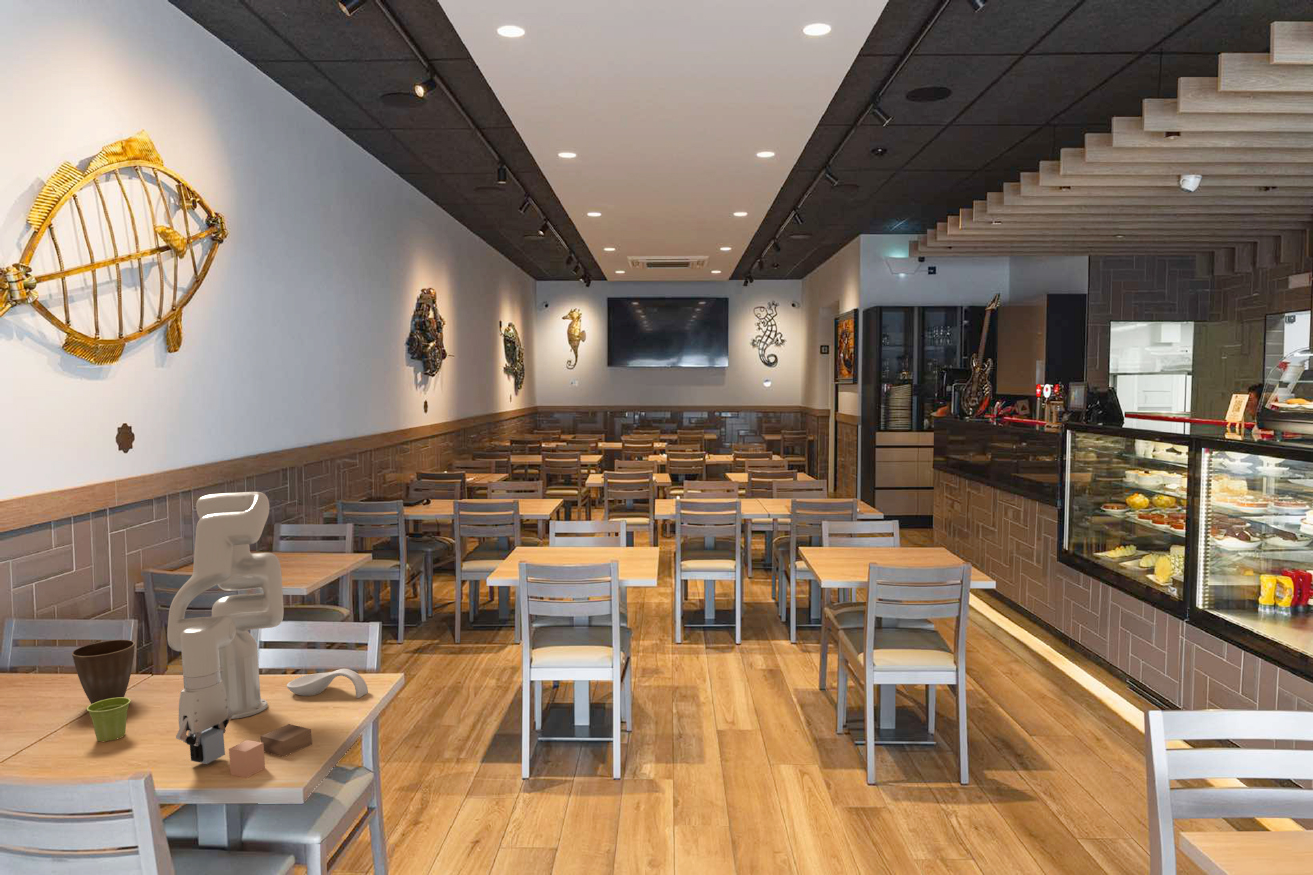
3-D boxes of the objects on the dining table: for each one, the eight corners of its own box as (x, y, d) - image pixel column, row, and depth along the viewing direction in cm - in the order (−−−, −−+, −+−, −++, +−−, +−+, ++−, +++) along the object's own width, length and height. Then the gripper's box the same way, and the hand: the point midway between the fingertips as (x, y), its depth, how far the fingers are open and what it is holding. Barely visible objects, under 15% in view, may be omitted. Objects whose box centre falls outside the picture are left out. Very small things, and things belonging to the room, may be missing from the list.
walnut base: (261, 752, 207) (260, 735, 206) (289, 739, 214) (288, 723, 213) (284, 757, 203) (283, 741, 203) (312, 745, 210) (311, 728, 210)
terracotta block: (230, 774, 194) (228, 748, 194) (248, 765, 199) (246, 739, 199) (247, 777, 192) (245, 751, 192) (265, 768, 197) (263, 742, 197)
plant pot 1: (149, 698, 246) (145, 643, 245) (92, 716, 233) (87, 658, 232) (122, 690, 254) (118, 637, 253) (66, 707, 241) (61, 651, 240)
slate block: (190, 760, 200) (189, 735, 199) (209, 751, 204) (207, 727, 204) (206, 763, 198) (204, 738, 197) (224, 754, 202) (223, 729, 202)
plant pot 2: (141, 731, 221) (139, 698, 221) (107, 746, 212) (105, 712, 212) (114, 728, 224) (112, 695, 224) (80, 742, 215) (77, 709, 215)
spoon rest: (278, 698, 243) (277, 673, 242) (305, 684, 254) (304, 660, 254) (352, 703, 237) (350, 678, 236) (376, 689, 248) (375, 664, 248)
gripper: (221, 665, 209) (226, 738, 210) (157, 690, 193) (163, 769, 194) (244, 668, 206) (249, 742, 207) (181, 694, 190) (187, 774, 192)
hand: (207, 754), depth 201 cm, fingers closed on slate block, 5 cm apart
